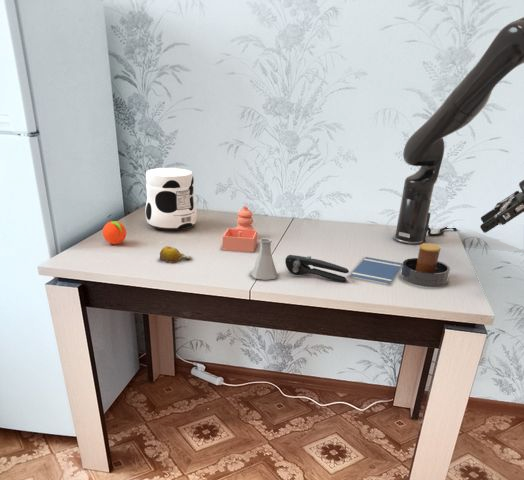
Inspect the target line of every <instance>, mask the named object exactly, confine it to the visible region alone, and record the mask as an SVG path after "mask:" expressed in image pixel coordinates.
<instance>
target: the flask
mask: <svg viewBox="0 0 524 480" xmlns="http://www.w3.org/2000/svg"><path fill="white" fill-rule="evenodd" d="M272 241H273V239H271V238H268V237H261V238H260V239H259V243H260V247H259V252H258V256H257V258H256V261H255V264H254V266H253V268H252V270H251V274H250V275H251V276H252V277H253V278H254V279H256V280H264V281H266V280H267V281H268V280H274V279H275V280H276V278H277V276H278V272H277V268H276V265H275V263H274V259H273V255H272V249H271V244H272Z"/></svg>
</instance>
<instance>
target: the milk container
mask: <svg viewBox="0 0 524 480" xmlns="http://www.w3.org/2000/svg"><path fill="white" fill-rule="evenodd" d="M193 173H194V172H193V171H192V170H189V169H186V168H179V167H158V168H157V167H156V168H151V169H147V170H146V171H145V190H146V204H145V208H144V214H145V219H146V222H147V224H148V226H150V227H152V228H154V229H159V230H163V231H180V230H185V229H189V228H191V227H193V226H194V225H196V222H197V218H198V209H197V205H196V202H195V184H194V182H195V181H194V174H193Z"/></svg>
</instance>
